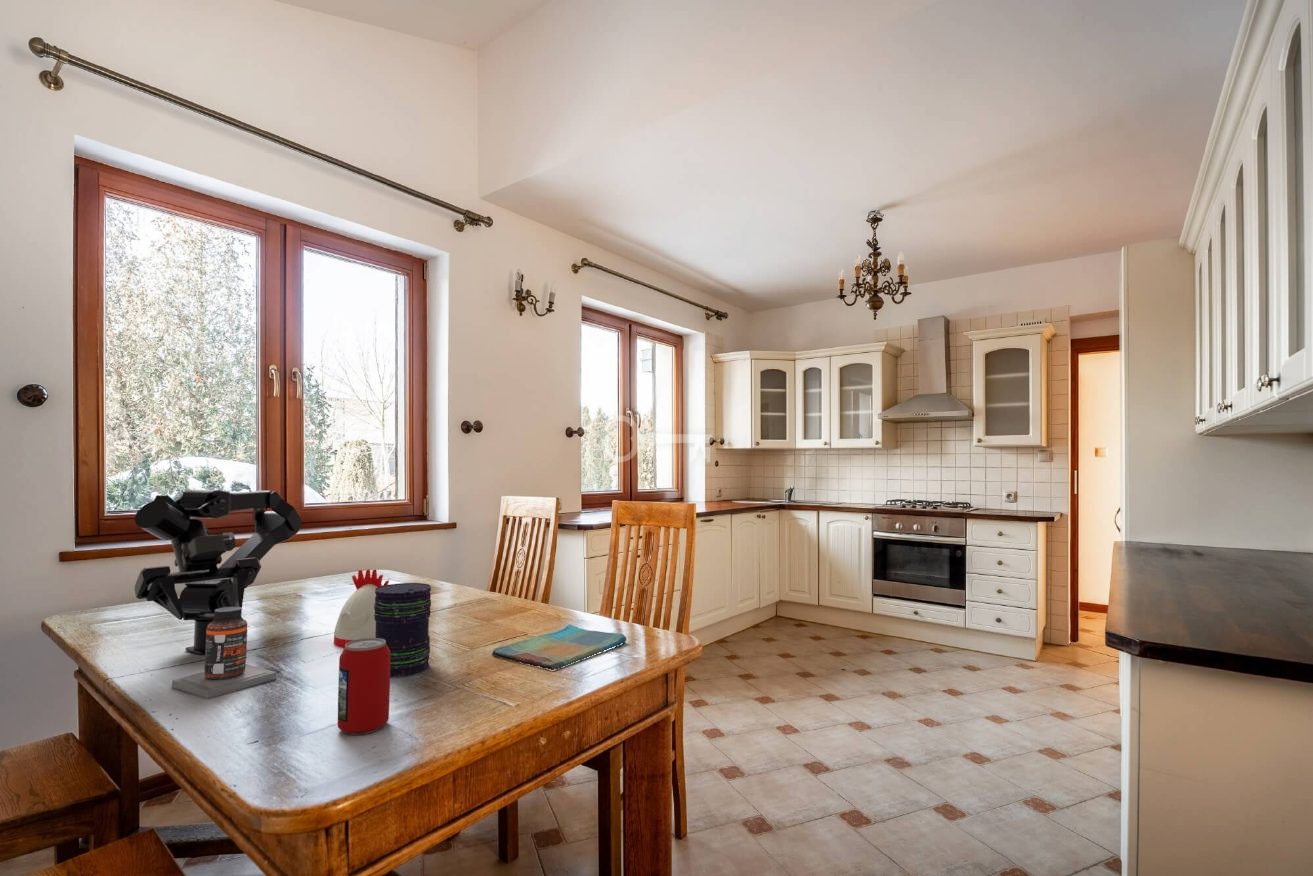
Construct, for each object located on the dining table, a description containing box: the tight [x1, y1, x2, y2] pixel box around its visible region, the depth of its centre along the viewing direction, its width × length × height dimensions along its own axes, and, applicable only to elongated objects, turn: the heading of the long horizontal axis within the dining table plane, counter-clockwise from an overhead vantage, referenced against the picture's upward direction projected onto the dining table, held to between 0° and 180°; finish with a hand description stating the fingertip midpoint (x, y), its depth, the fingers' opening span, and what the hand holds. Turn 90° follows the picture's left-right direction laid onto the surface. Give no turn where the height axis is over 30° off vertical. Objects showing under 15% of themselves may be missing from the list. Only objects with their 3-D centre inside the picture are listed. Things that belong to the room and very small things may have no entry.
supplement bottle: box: [203, 607, 248, 679], centre depth 111 cm, size 6×6×11 cm
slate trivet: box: [171, 664, 277, 700], centre depth 110 cm, size 11×11×1 cm
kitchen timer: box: [333, 569, 390, 648], centre depth 139 cm, size 14×14×15 cm
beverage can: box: [337, 638, 391, 735], centre depth 92 cm, size 7×7×12 cm
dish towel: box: [491, 623, 627, 670], centre depth 132 cm, size 17×23×2 cm
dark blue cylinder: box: [374, 582, 432, 679], centre depth 119 cm, size 10×10×15 cm
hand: (211, 613), depth 116 cm, fingers open, 9 cm apart
